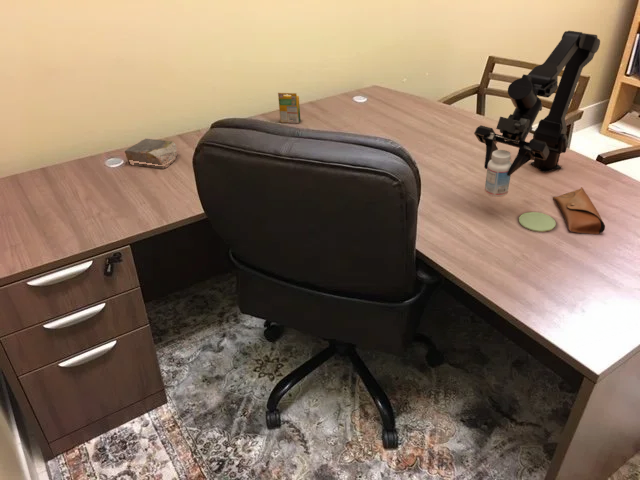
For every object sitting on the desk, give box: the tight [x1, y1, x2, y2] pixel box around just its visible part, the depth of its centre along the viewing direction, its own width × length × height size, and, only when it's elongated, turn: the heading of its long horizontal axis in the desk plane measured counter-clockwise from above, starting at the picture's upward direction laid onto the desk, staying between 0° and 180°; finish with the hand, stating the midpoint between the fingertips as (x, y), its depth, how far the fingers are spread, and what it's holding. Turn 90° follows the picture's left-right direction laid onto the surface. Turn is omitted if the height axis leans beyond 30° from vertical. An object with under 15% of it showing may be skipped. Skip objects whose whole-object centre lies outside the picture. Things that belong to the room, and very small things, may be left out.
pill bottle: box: [484, 149, 513, 198], centre depth 139 cm, size 6×6×11 cm
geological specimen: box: [124, 138, 179, 170], centre depth 180 cm, size 11×6×15 cm
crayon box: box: [277, 92, 301, 124], centre depth 201 cm, size 7×3×12 cm, turn 77°
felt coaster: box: [518, 211, 557, 233], centre depth 140 cm, size 9×9×1 cm
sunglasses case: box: [552, 187, 606, 235], centre depth 141 cm, size 18×7×7 cm, turn 175°
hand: (496, 171), depth 138 cm, fingers closed on pill bottle, 6 cm apart
